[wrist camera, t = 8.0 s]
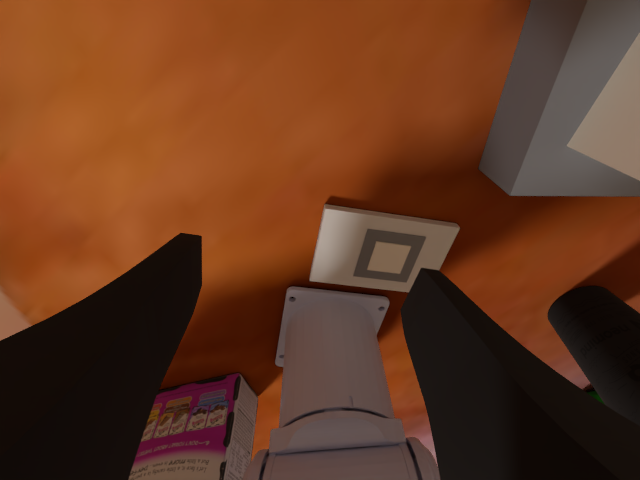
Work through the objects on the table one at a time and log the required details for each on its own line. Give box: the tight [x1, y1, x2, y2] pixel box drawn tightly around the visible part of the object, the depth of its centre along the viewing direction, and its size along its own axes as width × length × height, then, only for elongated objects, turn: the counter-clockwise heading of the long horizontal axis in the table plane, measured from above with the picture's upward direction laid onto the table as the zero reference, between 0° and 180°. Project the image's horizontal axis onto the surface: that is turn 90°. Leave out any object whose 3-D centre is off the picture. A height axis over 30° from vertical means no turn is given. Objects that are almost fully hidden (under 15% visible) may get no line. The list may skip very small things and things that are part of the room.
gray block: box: [478, 0, 640, 197], centre depth 15 cm, size 9×9×4 cm
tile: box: [310, 204, 460, 292], centre depth 22 cm, size 6×9×1 cm, turn 80°
